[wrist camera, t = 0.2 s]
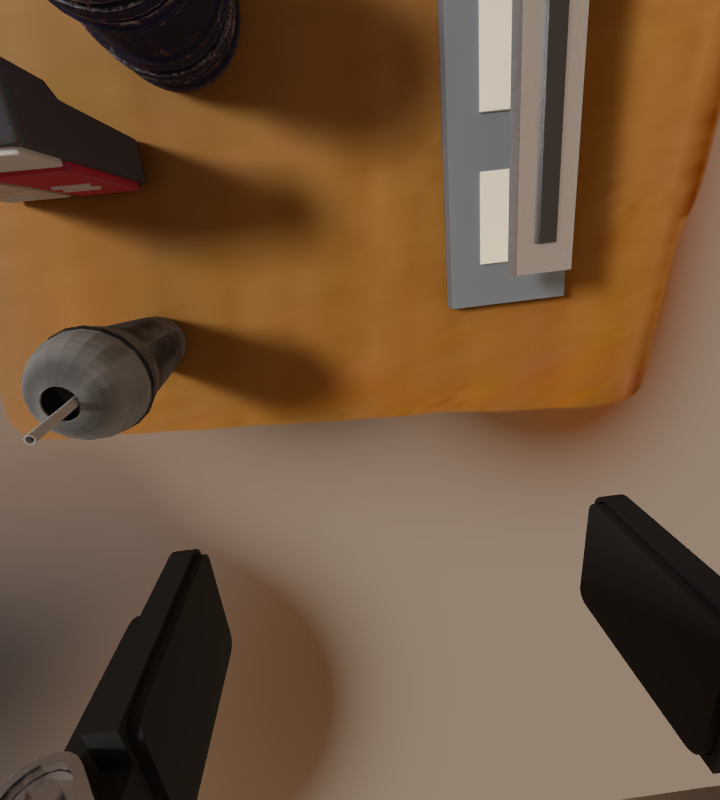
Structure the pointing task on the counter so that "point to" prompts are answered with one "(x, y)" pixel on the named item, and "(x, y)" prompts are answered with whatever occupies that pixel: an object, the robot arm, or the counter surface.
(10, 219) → the counter surface
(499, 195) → the label board
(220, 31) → the blue oil drum
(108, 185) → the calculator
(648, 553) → the robot arm
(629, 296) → the counter surface
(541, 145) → the swing arm
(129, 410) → the beverage cup
